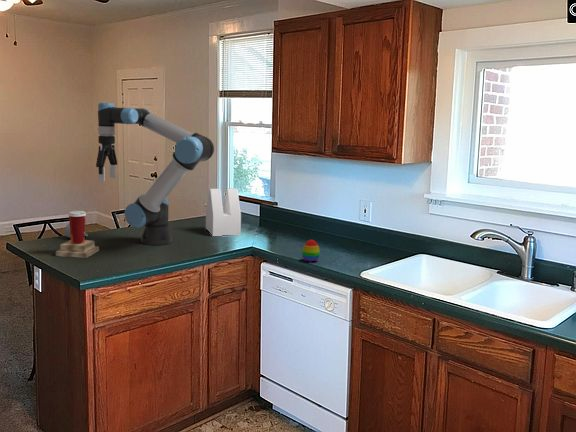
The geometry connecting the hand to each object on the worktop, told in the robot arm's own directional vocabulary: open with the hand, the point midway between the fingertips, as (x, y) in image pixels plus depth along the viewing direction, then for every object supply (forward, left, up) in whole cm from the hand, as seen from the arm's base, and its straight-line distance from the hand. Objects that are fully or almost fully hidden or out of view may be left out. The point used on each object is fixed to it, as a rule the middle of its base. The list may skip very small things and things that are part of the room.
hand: (107, 179), depth 273 cm
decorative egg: (-101, +12, -32) cm, 107 cm away
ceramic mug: (+19, -7, -32) cm, 38 cm away
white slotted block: (-50, -40, -32) cm, 72 cm away
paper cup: (+5, +23, -27) cm, 36 cm away
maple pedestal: (+5, +23, -32) cm, 39 cm away
